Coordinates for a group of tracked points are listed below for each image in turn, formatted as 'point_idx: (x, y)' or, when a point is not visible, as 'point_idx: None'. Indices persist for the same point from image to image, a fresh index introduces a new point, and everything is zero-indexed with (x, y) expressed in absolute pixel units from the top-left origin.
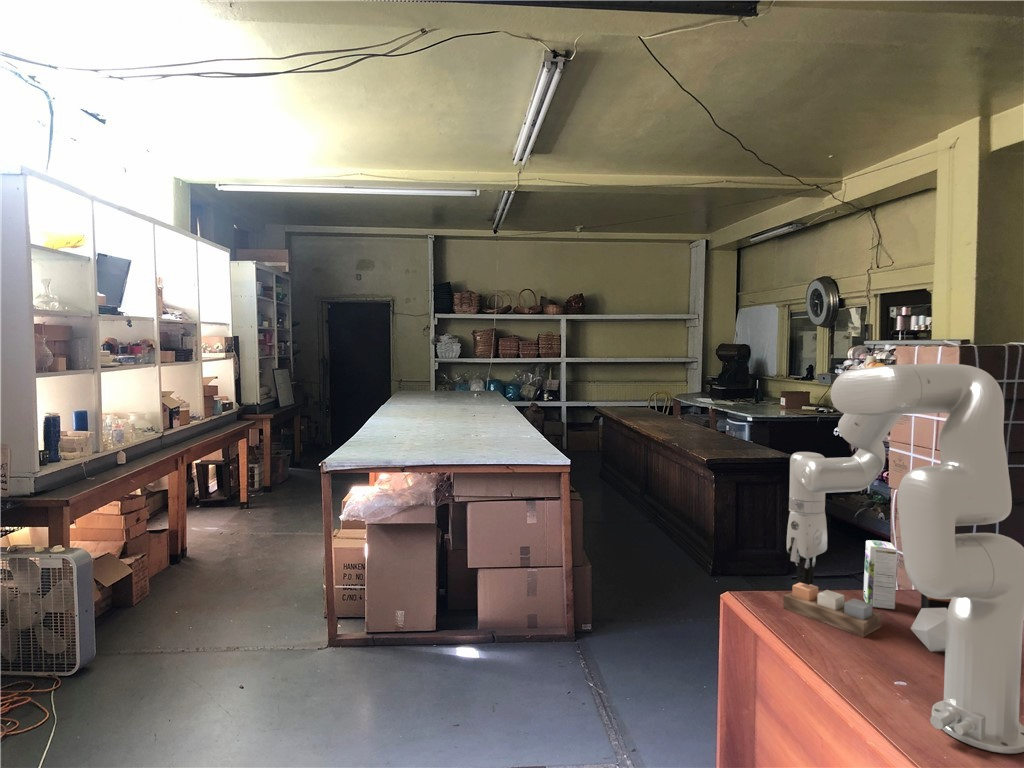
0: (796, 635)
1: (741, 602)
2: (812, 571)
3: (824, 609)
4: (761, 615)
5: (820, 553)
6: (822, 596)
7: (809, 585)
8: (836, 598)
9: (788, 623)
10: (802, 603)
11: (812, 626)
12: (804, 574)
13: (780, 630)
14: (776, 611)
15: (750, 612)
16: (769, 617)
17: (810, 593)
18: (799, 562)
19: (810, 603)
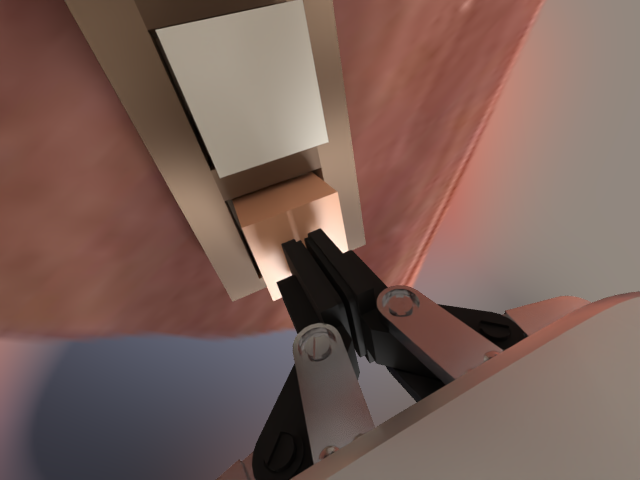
0: (482, 17)
1: (408, 276)
2: (323, 283)
3: (334, 50)
4: (435, 194)
5: (366, 455)
6: (319, 107)
7: (275, 253)
8: (278, 10)
9: (423, 115)
10: (352, 168)
11: (378, 51)
12: (368, 271)
13: (483, 80)
14: (379, 206)
15: (440, 218)
16: (430, 175)
17: (315, 191)
18: (509, 311)
19: (336, 144)
